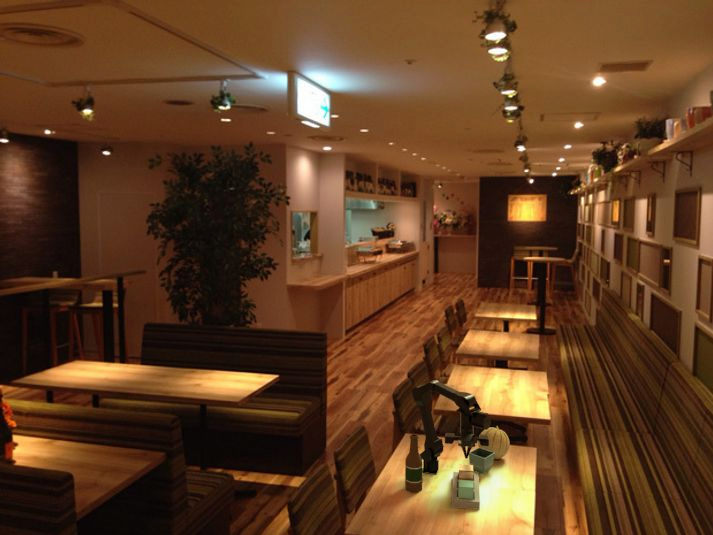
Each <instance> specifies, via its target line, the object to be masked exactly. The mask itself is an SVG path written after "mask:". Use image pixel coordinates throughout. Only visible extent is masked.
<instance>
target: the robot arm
mask: <svg viewBox="0 0 713 535" xmlns="http://www.w3.org/2000/svg"><path fill="white" fill-rule="evenodd" d="M432 392H435V393H437V394H439V395H440V396H443V397H444V398H446V399H448V400H451V401H452V402H453V403H454V404H455V406H456V407H458V408H457V409H456V410H455V412H456V413H459V414H460V415H459V418H460V419H459V421H460V422H459V425H460V427H459V435H455V433H454V432H446V433H445V434H444V442H443V438H439V436H438V435H437V433H436V428H435V423H434V418H433V414H432V409H431V405H430V404H431V403H430V402H431V398H432V394H431V393H432ZM411 395H412V398H413V400H414V402H415V404H416V405H417V407H418V409H419V414H420V417H421V422H422V423H421V424H422V427H423V432H424V435H425V439H424V444H423V447H424V448H423V449H424V450H423V451H422V452H421V453H419V454H420V456H421V458H422V465H423V473H422V474H435V475H437V474H438V472H439V470H440V469H439V465H440V464H439V462H440V461H439V460H440V459H438V458H439V457H440V456H441V455H442V454H443V452H444V448H445V446H444V444H447V445H448V444H449V445H453V443H454V442H456V441H457V446H458V447H460V448H461V449H462V452H463V456H464V458H465V459H466V460H467V459H469V453H470V452H471V451H472V449H473V448H475V447H476V444H478V442H480V445H481V446H489V437H488V435H480V434H479V436H478V435H477V434H474V431H475V430H474V427H475V428H479V429H482V430H487V429H489V428H490V427H491V425H492V420H491V417H490V416H489V413H488V412H483V411H482V408H481V406H480V404H479V403H478V401H477V398H476V396H475V395H474V394H472V393H469V392H466V391H459V390H457V389H454V388H452V387H450V385H447V384H445V383H443V382H441V381H439V380H438V379H433V380H431V381H428V382H427V383H425V384H422V385H419V386H418V385H417V386H415V387H413V389H412V390H411ZM443 443H444V444H443Z"/></svg>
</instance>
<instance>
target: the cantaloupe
mask: <svg viewBox="0 0 713 535" xmlns="http://www.w3.org/2000/svg"><path fill="white" fill-rule="evenodd" d="M479 435H488V437H489V446H481V445H480V442H477V444H478V448H482V449H485V450H488V451H491V452H494V453H495V455H494V460H500V459H502V458H503V457H505V456H506V455H507V454H508V452H509V449H510V446H511V445H510V444H511V443H510V439H509V436H508V435H507V433H506V432H505V431H504V430H502V429H500V428H499V426H498V425H496V427H493V426H492V427H491V426H490V427H489V429H487V430H485V429H483V430H482V431H481V433H480V434H479Z"/></svg>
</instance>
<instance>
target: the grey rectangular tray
mask: <svg viewBox="0 0 713 535" xmlns="http://www.w3.org/2000/svg"><path fill="white" fill-rule="evenodd" d="M479 476H480V473H478V472H473V483H474V492H473V499H463V498H458V489H459V471H453V473H452V492H451V508H460V509H469V510H470V509H471V510H472V509H473V510H474V509H475V510H480V509H481V508H480V504H481V503H480V501H481V500H480V477H479Z"/></svg>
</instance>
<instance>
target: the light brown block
mask: <svg viewBox="0 0 713 535" xmlns="http://www.w3.org/2000/svg"><path fill="white" fill-rule="evenodd" d="M459 471H461V472H473V473H474V471H473V465H470V464H462V463H460V464H458V472H459Z"/></svg>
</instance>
